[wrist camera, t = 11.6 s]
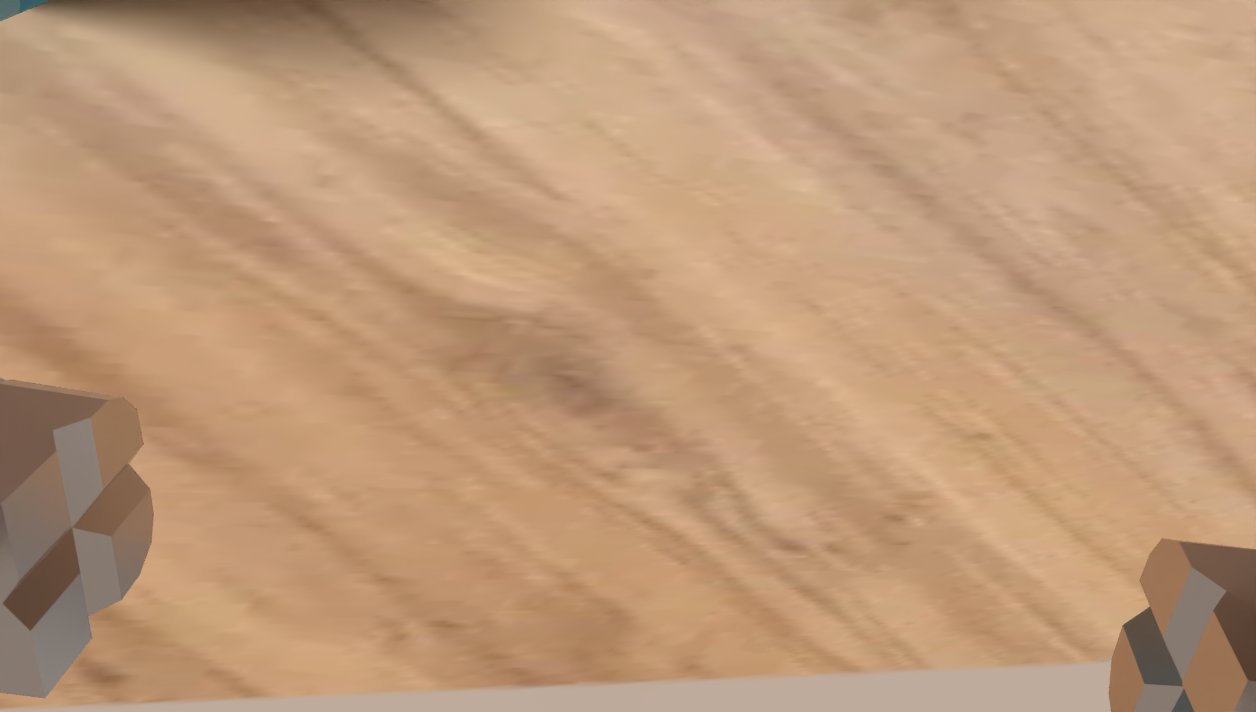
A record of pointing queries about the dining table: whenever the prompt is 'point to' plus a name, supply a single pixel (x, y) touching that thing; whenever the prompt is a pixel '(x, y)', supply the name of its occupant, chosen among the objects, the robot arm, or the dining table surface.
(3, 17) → the data package
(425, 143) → the dining table surface
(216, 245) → the dining table surface
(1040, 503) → the dining table surface
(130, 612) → the dining table surface
